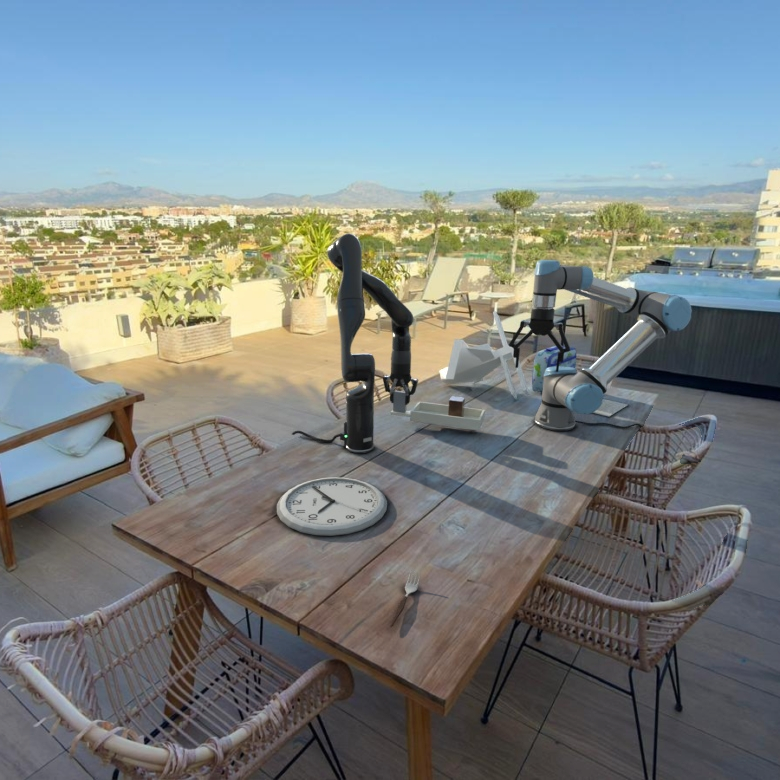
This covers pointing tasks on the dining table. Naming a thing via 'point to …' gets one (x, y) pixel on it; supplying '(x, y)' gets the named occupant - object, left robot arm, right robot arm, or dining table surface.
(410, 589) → the fork
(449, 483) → the dining table surface
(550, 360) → the lunch box
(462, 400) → the walnut block
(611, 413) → the invitation card
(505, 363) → the white plastic object
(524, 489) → the dining table surface
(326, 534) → the wall clock
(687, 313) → the right robot arm
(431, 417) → the tray
